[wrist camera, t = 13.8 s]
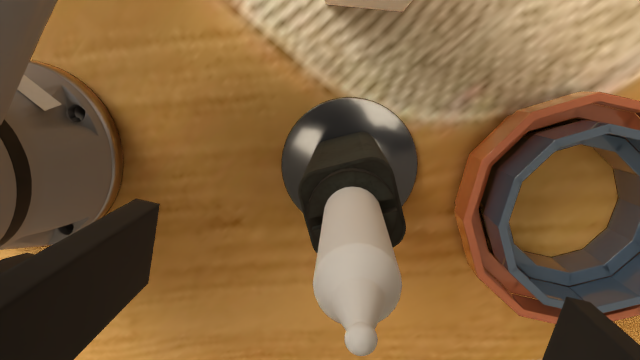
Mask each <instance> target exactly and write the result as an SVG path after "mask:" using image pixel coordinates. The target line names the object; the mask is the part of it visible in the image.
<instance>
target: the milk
mask: <svg viewBox="0 0 640 360" xmlns="http://www.w3.org/2000/svg"><path fill="white" fill-rule="evenodd" d="M411 1H412V0H325V3H326V4H327V5H336V6H346V7H357V8H367V9H377V10H387V11H397V12H403V11H404V10H405V9H406V7H407V6H408V5H409V4H410V2H411Z"/></svg>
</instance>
